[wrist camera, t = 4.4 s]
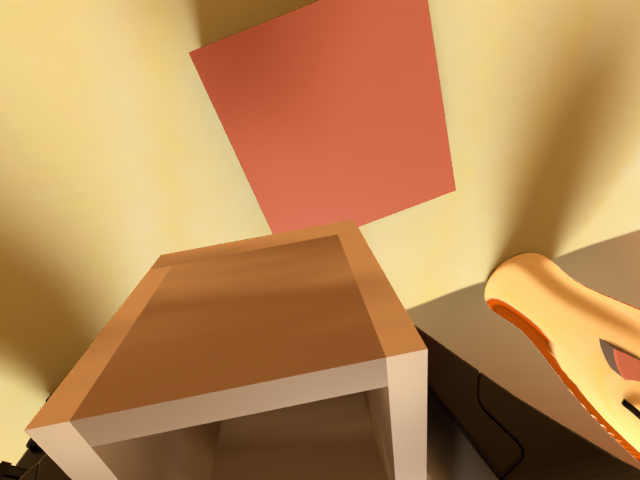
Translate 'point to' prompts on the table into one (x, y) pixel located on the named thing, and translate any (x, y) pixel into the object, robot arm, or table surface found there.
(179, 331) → the masu
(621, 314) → the beer glass
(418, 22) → the red square block
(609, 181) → the table surface
